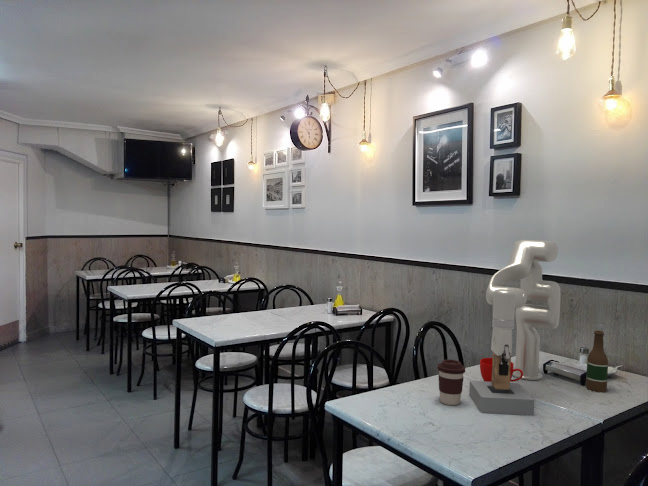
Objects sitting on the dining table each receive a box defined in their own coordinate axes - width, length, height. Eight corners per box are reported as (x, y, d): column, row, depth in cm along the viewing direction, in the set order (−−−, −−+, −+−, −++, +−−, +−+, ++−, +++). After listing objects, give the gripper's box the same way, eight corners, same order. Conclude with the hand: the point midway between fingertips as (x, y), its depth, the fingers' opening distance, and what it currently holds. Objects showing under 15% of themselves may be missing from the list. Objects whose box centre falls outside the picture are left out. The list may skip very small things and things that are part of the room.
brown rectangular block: (491, 384, 184) (493, 347, 183) (505, 385, 183) (507, 347, 183) (495, 388, 179) (497, 350, 178) (509, 389, 178) (511, 351, 178)
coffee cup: (464, 408, 177) (466, 366, 176) (436, 405, 179) (438, 364, 178) (462, 398, 186) (464, 359, 186) (435, 396, 188) (437, 357, 188)
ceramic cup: (517, 396, 191) (518, 370, 190) (474, 386, 201) (475, 362, 201) (526, 387, 201) (527, 363, 201) (485, 379, 211) (486, 355, 211)
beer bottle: (611, 393, 198) (614, 333, 197) (591, 392, 198) (594, 333, 197) (600, 386, 205) (603, 329, 204) (581, 386, 206) (584, 328, 204)
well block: (469, 394, 191) (469, 380, 191) (516, 397, 190) (517, 383, 190) (480, 412, 173) (481, 397, 173) (533, 415, 172) (534, 399, 172)
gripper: (486, 318, 189) (484, 365, 190) (499, 327, 172) (497, 379, 173) (506, 319, 188) (504, 366, 189) (521, 328, 171) (519, 380, 172)
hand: (500, 372), depth 181 cm, fingers closed on brown rectangular block, 5 cm apart
